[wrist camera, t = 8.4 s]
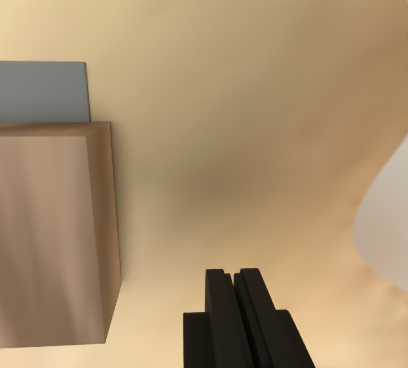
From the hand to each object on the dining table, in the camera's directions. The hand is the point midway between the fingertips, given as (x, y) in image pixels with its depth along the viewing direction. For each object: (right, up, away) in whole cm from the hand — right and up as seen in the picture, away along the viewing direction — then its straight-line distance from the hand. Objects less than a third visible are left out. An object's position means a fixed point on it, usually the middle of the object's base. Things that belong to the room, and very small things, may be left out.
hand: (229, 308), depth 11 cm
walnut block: (-6, +2, +6) cm, 9 cm away
